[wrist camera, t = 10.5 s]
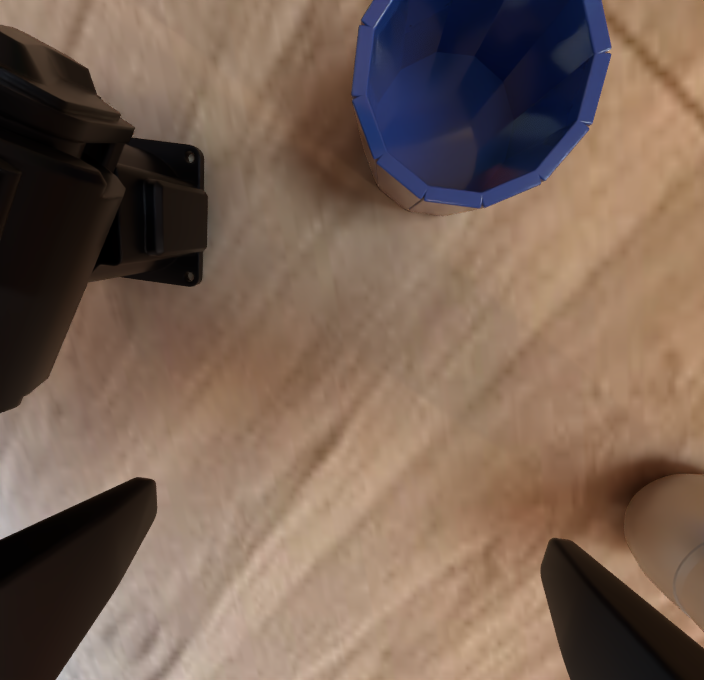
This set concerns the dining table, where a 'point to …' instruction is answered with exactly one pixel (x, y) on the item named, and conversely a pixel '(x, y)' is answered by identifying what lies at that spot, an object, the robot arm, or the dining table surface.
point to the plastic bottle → (671, 539)
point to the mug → (474, 95)
